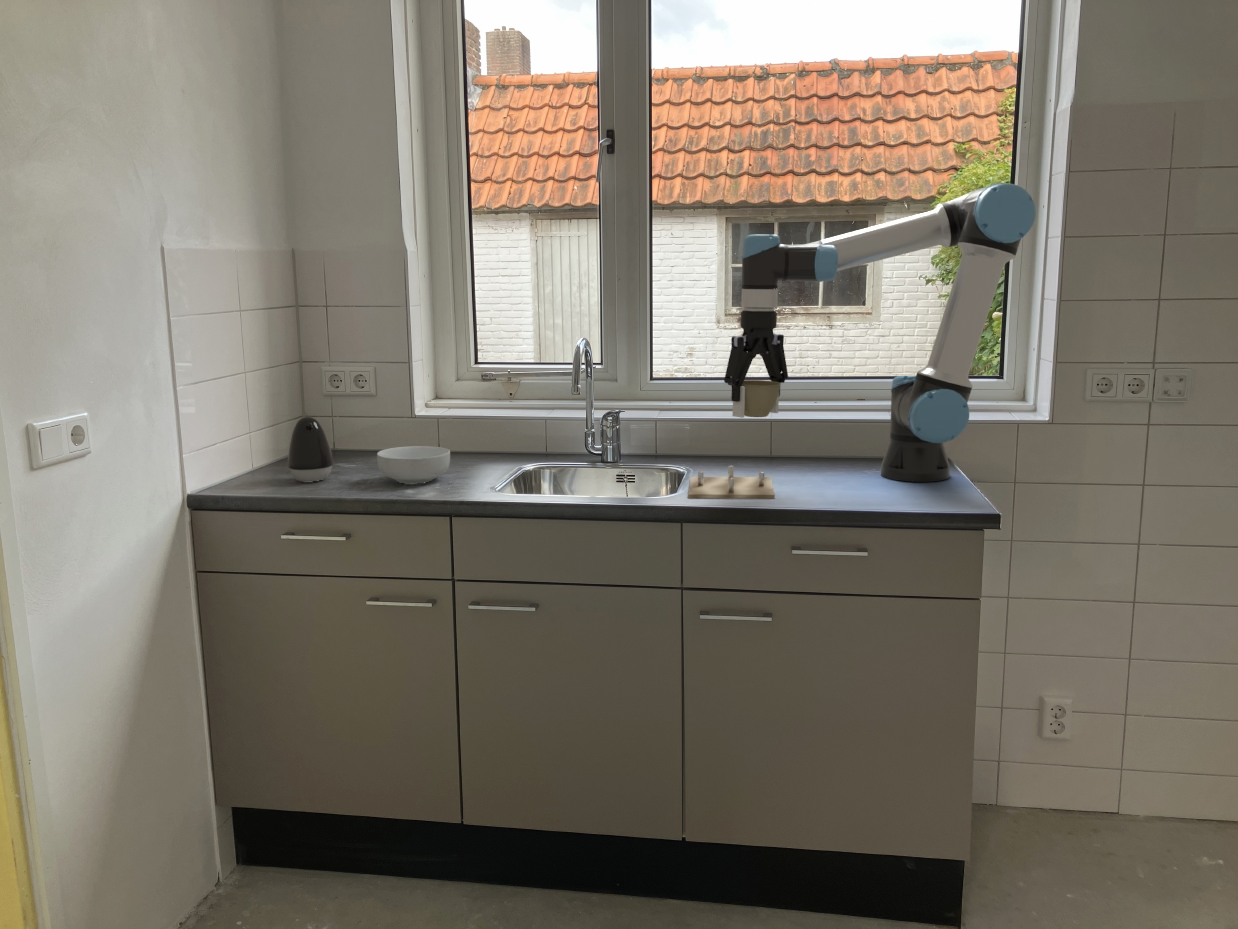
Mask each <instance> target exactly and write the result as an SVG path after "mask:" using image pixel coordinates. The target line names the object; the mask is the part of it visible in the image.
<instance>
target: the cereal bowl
mask: <svg viewBox="0 0 1238 929" xmlns="http://www.w3.org/2000/svg"><path fill="white" fill-rule="evenodd" d="M376 460H377V461H376V462H377V466H378V469H379V471H380V472H381V473H382V474H383V475H384V476H386V477H388V478H389V479H392V480H394V481H396V482H397V483H398V482H399V483H398V484H401V483H423V484H425V483H424V482H428V483H430V482H429V481H431V480H432V481H433V479H435V478H438V477H440V476H442V475H443V474H445V472H446V471H447V470H448V468H449V466H450V463H451V450H450V449H448V448H445V447H439V446H426V445H425V446H423V445H420V446H419V445H417V446H412V445H411V446H399V447H397V446H396V447H390V448H386V449H382V450H380V451H377V453H376ZM432 481H431V482H432Z"/></svg>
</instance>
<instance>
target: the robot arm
mask: <svg viewBox="0 0 1238 929" xmlns="http://www.w3.org/2000/svg"><path fill="white" fill-rule="evenodd" d="M1035 204H1036V203H1035V202H1034V200H1033V198H1032V195H1031V194H1030V193H1029V192H1028V191H1027V190H1026V189H1025V188H1023V187H1022V186H1020V185H1019V184H1016V183H1015V184H1014V183H1006V182H997V183H993V184H990V185H988V186H985V187H980V188H975V189H974V190H973V191H970V192H968V193H965V194H964V195H961V196H958V197H956V198H954V199H951V200H948V201H944V202H942V203H938V204H936V205H935V207H934V208H933V210H928V211H926V212H922V213H918V214H914V215H913V214H912V215H911V216H907V217H902V218H899V219H894V220H891V221H888V222H884V223H880V224H876V225H872V226H869V227H865V228H861V229H858V230H854V231H849V232H846V233H843V234H838V235H834V236H831V237H827V238H822V239H820V240H817V241H812V242H808V243H804V244H785V243H784V244H783V243H781V239H780V236H779V235H777V234H764V233H763V234H749V235H747V236H745V238H743V248H742V256H741V257H742V258H741V261H742V262H741V264H742V265H741V303H740V305H741V306H740V307H741V308H743V309H744V310H742V311H741V312H740V327H741V328H742V329H743V332H742V335H741V336H735V335H733V336H731V340H730V341H731V343H730V344H731V349H730V353H729V356H728V362H727V366H726V371H725V375H724V378H723V379H724V380H723V382H724V383H725V384H727V385H728V386H731V402H732V414H731V415H732V417H736V418H745V416H744V408H745V387H744V386H742V384H743V382H744V380H746V377H747V374H748V372H749V370H750V366H751V364H752V363H753V362H752V361H754V360H753V359H755V358H756V357H757V355H759V356H760V357H761V358H762V360H763V363H764V365H765V366H764V367H765V370H766V372H767V374H768V377H769V379H770V380H769V381H774V382H779V383H781V384H783V383H785V381H786V380H787V379H788V378H789V373H788V368H787V361H786V360H787V359H786V355H785V349H784V347H785V346H784V341H785V336H784V334H781V333H779V334H778V333H774V329H776V328H777V320H778V315H777V314H778V312H777V311H776V310H775V309H777V308H778V301H779V300H778V295H779V294H778V293H779V292H778V288H779V285H778V284H779V282H781V281H782V282H786V281H787V282H818V283H821V282H832V281H834V280H835V279H836V277H837V274H838V273H837V272H839V271H843V270H847V269H852V268H854V267H859V266H863V265H866V264H871V263H874V262H878V261H882V260H886V259H889V258H893V257H897V256H902V255H906V254H910V253H913V252H917V251H922V250H925V249H929V248H932V247H933V248H934V247H937V246H941V247H944V248H945V249H947V248H952V247H955V246H958V248H959V249H960V251H961V254H962V255H961V256H960V261H959V264H958V267H957V271H956V273H955V277H954V280H953V283H952V286H951V289H950V293H949V296H948V299H947V301H946V305H945V308H944V311H943V314H942V317H941V321H940V324H939V327H938V329H937V333H936V337H935V339H934V343H933V346H932V349H931V353H930V355H929V359H928V362H927V364H926V365H925V366H924V367H922V368H921V369H919V370H918V371H917V373H916V375H915V374H913V375H898V376H894V378H893V379H892V382H891V388H890V393H891V396H890V399H891V400H890V403H891V404H890V428H889V429H890V430H889V431H890V432H889V434H890V435H889V436H890V437H889V444H888V446H887V447H886V450H885V454H884V457H883V459H882V462H881V465H880V475H881V476H882V477H884V478H887V479H891V480H896V481H903V482H913V483H914V482H915V483H916V482H917V483H923V482H924V483H925V482H926V483H929V482H940V481H946V480H948V479H949V478H950V477H951V474H950V473H951V466H950V463H949V459H948V456H947V452H946V449H945V445H944V443H948V442H951V441H953V440H955V439H956V438H958V437H959V436H960V435H961V434H962V433H963V432H964V431H965V430H966V428H967V425H968V424H969V420H970V408H969V404H968V402H969V399H970V396H971V393H972V389H973V384H972V382H971V381H970V378H969V374H970V371H971V368H972V365H973V362H974V359H975V355H976V353H977V349H978V347H979V343H980V341H981V337H982V335H983V330H984V328H985V326H986V322H987V318H988V315H989V312H990V310H991V307H992V304H993V301H994V297H995V295H996V292H997V288H998V286H999V283H1000V280H1001V277H1002V273H1003V271H1004V267H1005V265H1006V264H1007V263H1008V262H1010V261H1011V260H1013V259H1015V258H1016V255H1017V252H1018V249H1019V246H1020V243H1021V240H1022V239H1023V238H1024V237H1025V236H1026V235H1027V234H1028V233H1029V232H1030V230H1031V229H1032V227H1033V225H1034V223H1035V220H1036V213H1037V212H1036V209H1037V208H1036V205H1035ZM780 396H781V389H780V390H779V394H778V397H777V400H776V402H775V404H774V406H773V408H772V410H771V411H770V413H773V414H778V413H779V400H780V399H779V398H780Z"/></svg>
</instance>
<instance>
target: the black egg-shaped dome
mask: <svg viewBox="0 0 1238 929" xmlns="http://www.w3.org/2000/svg"><path fill="white" fill-rule="evenodd" d="M289 440H290V442H289V446H288V452H287V454H288V455H287V468H288V469H289V472H290V474H291V475H292V477H293V478H294V479H295V480H297V481H298V480H299V482H301V481H317V480H322V479H324V480H325V479H327V478H328V477H329V476H330V474H331V471H332V469H333V465H334V459H333V454H332V448H331V445H330V443H329V439H328V437H327V434H326V431H325V429H324V428H323V426H322V425H321V423H320V421H318V419H317V418H315V417H313V416H304V417H301V418H299V419H298V420H297V421H296V423H295V424H294V427H293V429H292V432H291V436H290V439H289ZM322 481H323V480H322Z"/></svg>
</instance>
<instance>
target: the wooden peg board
mask: <svg viewBox="0 0 1238 929" xmlns="http://www.w3.org/2000/svg"><path fill="white" fill-rule="evenodd" d="M734 471H735V470H734V465H728V466H727V476H704V474H705V473H704V471H702V470H700V471H697V476H690V480H689V481H690V482H689V487H688V489H689V490H688V497H687V498H688V499H765V500H767V499H771V500H772V499H775V498H776V494H775V490H774V486H773V485H774V484H773V481H772V477H771V476H765V471H758V476H735V475H734V473H735V472H734Z"/></svg>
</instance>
